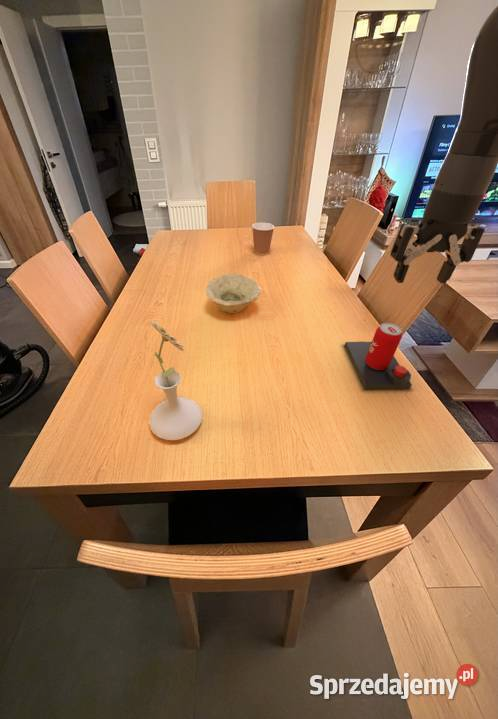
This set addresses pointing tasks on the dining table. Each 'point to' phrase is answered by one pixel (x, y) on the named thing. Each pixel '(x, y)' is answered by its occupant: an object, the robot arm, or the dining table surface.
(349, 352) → the grey plate red button
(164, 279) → the dining table surface
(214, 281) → the bowl
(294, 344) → the dining table surface
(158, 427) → the flower in vase
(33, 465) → the dining table surface
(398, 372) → the button
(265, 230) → the coffee cup
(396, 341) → the beverage can
